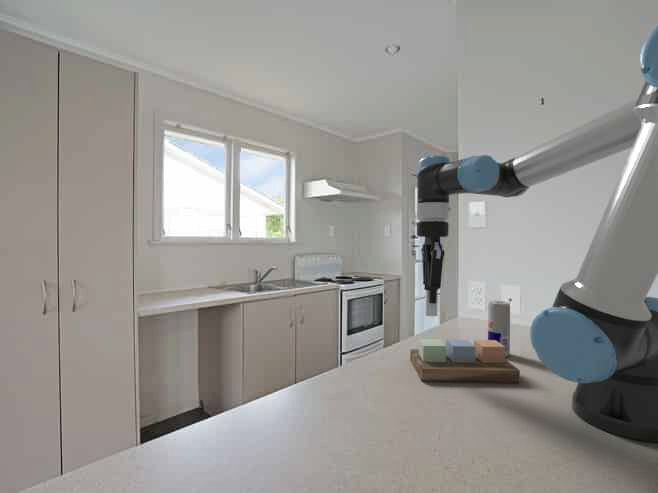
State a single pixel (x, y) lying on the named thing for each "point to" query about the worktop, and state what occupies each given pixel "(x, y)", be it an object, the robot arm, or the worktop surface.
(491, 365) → the board
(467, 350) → the slate button
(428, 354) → the sage button
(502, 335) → the beverage can
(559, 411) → the worktop surface
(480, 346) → the terracotta button
